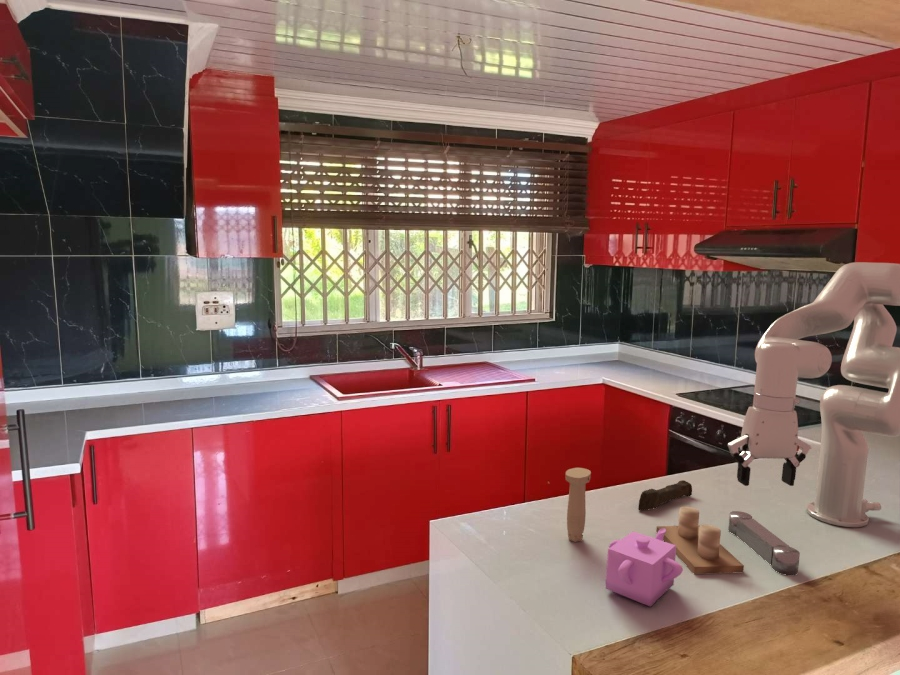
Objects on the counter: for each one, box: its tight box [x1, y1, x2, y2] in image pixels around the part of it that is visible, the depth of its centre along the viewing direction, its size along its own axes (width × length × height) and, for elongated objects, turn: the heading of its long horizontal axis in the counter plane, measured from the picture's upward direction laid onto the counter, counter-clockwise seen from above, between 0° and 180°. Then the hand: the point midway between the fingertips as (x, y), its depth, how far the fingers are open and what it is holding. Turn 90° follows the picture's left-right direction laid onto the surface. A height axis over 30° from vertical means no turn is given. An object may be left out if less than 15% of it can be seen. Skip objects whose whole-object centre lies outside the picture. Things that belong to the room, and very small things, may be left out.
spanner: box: [728, 510, 801, 576], centre depth 133 cm, size 5×21×4 cm, turn 5°
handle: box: [565, 467, 592, 543], centre depth 136 cm, size 5×6×15 cm
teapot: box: [605, 529, 684, 607], centre depth 116 cm, size 18×14×10 cm
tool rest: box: [655, 506, 745, 575], centre depth 132 cm, size 10×18×7 cm, turn 5°
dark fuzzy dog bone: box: [638, 480, 693, 511], centre depth 158 cm, size 19×4×5 cm, turn 123°
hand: (765, 483), depth 131 cm, fingers open, 9 cm apart
